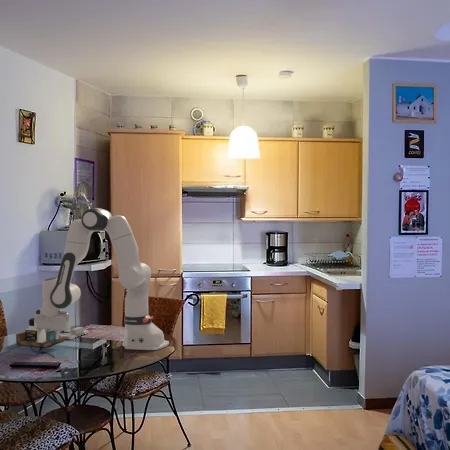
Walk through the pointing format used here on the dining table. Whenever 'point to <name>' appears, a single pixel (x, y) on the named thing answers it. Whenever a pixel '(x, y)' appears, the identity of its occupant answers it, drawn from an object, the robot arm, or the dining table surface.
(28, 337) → the medicine bottle
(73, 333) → the broken sled
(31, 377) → the dining table surface
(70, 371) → the dining table surface
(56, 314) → the robot arm
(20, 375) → the dining table surface
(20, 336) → the sled
